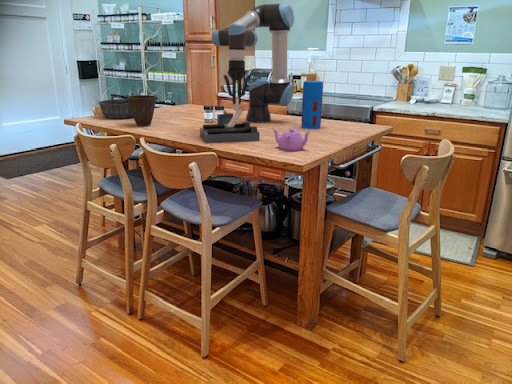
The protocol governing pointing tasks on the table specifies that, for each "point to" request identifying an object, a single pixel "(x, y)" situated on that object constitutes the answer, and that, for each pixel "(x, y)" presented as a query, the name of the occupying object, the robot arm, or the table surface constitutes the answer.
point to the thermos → (312, 104)
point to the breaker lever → (236, 116)
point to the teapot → (291, 140)
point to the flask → (224, 118)
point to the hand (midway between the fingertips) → (236, 110)
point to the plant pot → (142, 109)
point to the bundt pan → (116, 108)
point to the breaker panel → (229, 133)
